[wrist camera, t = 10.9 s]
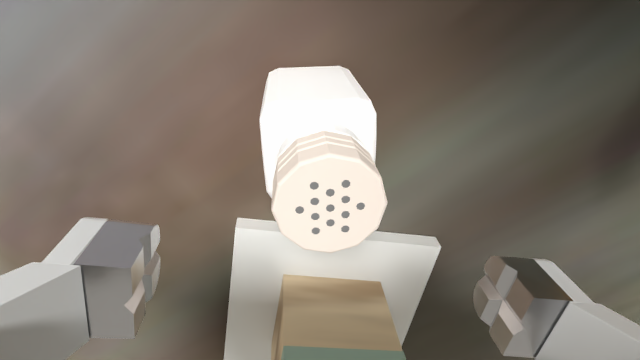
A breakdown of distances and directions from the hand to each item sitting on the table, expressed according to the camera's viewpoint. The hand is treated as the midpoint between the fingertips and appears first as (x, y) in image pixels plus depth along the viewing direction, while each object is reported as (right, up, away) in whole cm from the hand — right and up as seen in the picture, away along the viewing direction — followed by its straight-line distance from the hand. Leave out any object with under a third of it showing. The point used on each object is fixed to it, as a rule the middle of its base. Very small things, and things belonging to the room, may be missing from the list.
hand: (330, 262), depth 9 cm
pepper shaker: (-1, +6, +10) cm, 11 cm away
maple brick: (0, -6, +15) cm, 16 cm away
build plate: (0, -6, +16) cm, 17 cm away
